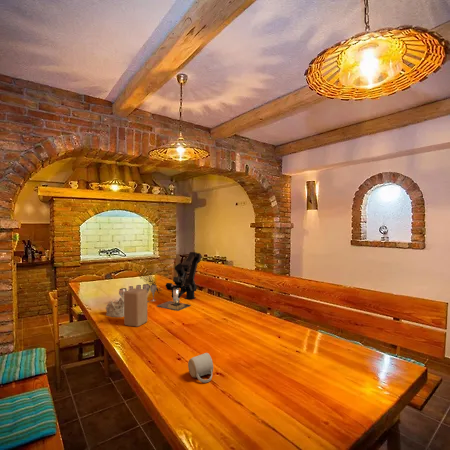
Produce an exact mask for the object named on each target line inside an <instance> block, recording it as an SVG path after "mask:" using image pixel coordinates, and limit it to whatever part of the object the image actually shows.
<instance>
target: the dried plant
mask: <svg viewBox="0 0 450 450" xmlns="http://www.w3.org/2000/svg"><path fill="white" fill-rule="evenodd" d="M153 259H154V258H152V259H151V262H150V266H149V267H150V268H151V267H152V266H153V261H154V260H153ZM147 264H148V263H147V261H145V262H144V266H145V267H147V266H148V265H147ZM134 269H135V270H136V271H134V270H132V269H131V268H128V271H130V272H134V273H136V272H137V271H138V273H137V275H138V276H139V278H140V279H142V280H144V281H143V283H144V284H145V283H147V282H148V284H149V286H150V285H156V293H158V294H160V293H161V292H162V291H163V290H162V286H160V287H158V285H157V281H156V280H157V279H156V278H154V277H153V276H152V275H153V272H151V271H148V270H147V269H148V268H145V271H148V273H146V272H140V271H141V270H140V269H139V268H138V267H137V266H134Z"/></svg>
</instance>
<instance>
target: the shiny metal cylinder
mask: <svg viewBox="0 0 450 450" xmlns="http://www.w3.org/2000/svg"><path fill="white" fill-rule="evenodd" d="M179 293H180V288H179V287H174V288H173V298H172V301H173V306H178V305H180V304H179V303H180V298H178V296H179Z"/></svg>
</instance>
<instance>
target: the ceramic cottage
mask: <svg viewBox="0 0 450 450" xmlns="http://www.w3.org/2000/svg"><path fill="white" fill-rule="evenodd" d="M105 310H106V313H105V316H107V317H110V318H124V293H123V294H122V297H121V296H120V297H119V299H117V300H115V301H113V300H110V302H107V305H106V306H105Z"/></svg>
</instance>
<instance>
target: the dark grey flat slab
mask: <svg viewBox="0 0 450 450" xmlns="http://www.w3.org/2000/svg"><path fill="white" fill-rule="evenodd" d="M179 304H180V305H178V306H173V300H169V301H166V302H163V303H160V304H158V305H156V308H162V309H167V310H173V311H176V312H177V311H181V310H184V309H186V308H190V307H192V304H188V303H183V302H179Z"/></svg>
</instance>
